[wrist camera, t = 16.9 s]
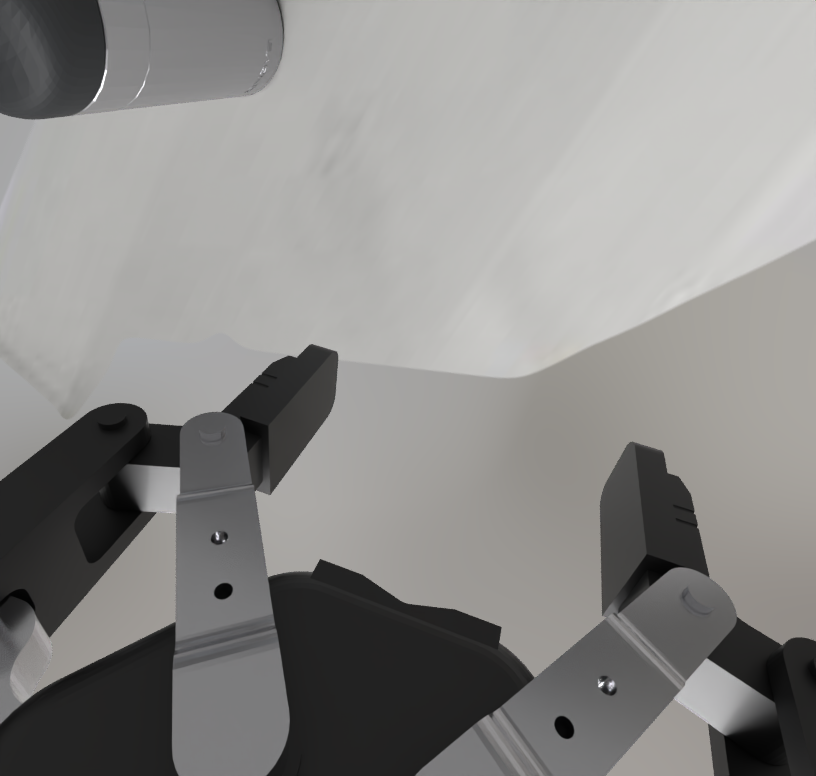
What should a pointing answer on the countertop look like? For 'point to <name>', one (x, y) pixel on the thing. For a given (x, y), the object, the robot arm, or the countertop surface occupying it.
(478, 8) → the countertop surface
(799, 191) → the countertop surface
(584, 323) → the countertop surface
